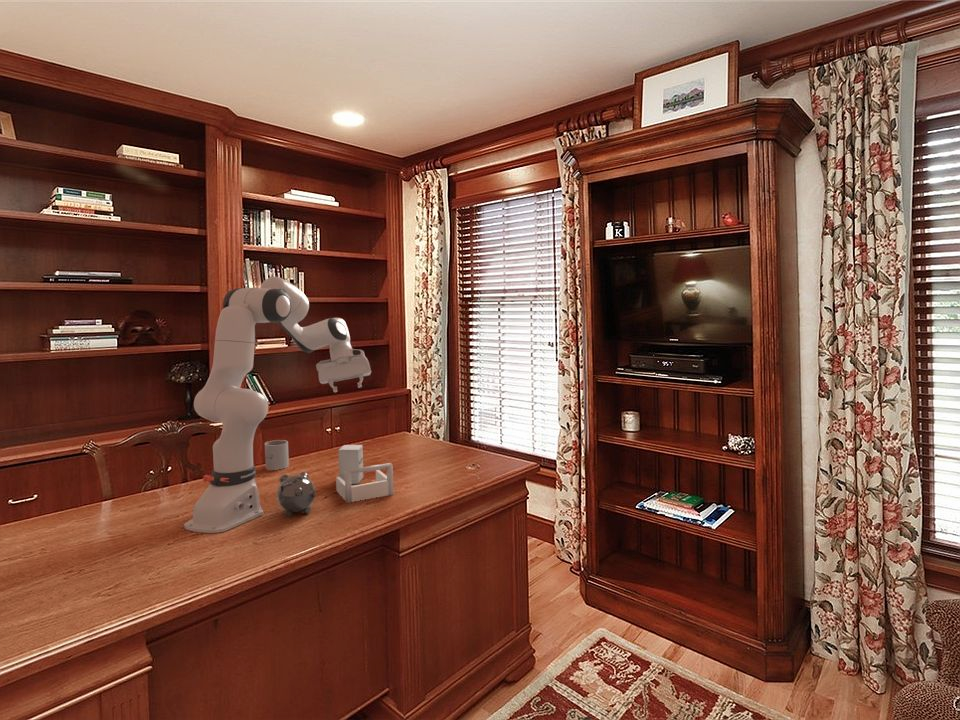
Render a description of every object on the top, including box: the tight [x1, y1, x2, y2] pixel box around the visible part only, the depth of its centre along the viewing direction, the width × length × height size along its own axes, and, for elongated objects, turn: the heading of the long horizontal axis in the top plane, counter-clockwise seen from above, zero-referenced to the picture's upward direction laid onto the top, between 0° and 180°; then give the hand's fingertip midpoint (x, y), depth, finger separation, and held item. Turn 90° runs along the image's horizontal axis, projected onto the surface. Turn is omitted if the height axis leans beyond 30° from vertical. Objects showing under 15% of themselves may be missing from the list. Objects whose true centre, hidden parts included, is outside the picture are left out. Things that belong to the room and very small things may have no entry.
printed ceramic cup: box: [264, 439, 290, 471], centre depth 212 cm, size 12×9×10 cm
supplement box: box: [337, 444, 364, 485], centre depth 193 cm, size 7×7×13 cm
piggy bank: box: [276, 471, 316, 518], centre depth 164 cm, size 11×15×12 cm
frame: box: [335, 462, 394, 504], centre depth 180 cm, size 14×16×11 cm
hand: (347, 389), depth 207 cm, fingers open, 8 cm apart
